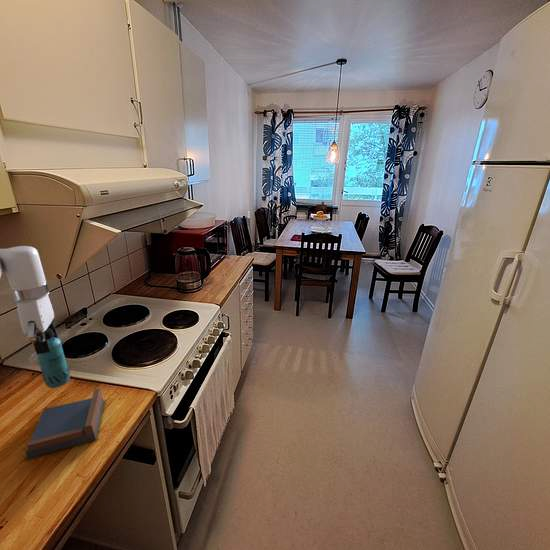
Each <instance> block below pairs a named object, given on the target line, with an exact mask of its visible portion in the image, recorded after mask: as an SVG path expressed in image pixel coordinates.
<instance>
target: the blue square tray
mask: <svg viewBox="0 0 550 550" xmlns="http://www.w3.org/2000/svg"><path fill="white" fill-rule="evenodd" d="M104 403H105V401H104V397H103V392H102V390H101V388H100V387H99V388H98V387H97V388H94V390H93V393H92V397H90V398H86V399H82V400H81V399H80V400H77V401H73V402H68V403H65V404H60V405H56V406H52V407H48V408H43V410H42V413H41V415H40V417H39V420H38V422H37V424H36V427H35V429H34V431H33V433H32V436H31V437H30V440H29V441H28V443H27V445H26V446H27V447H26V449H25V451H24V452H25V454H26V456H27V459H32V458H35V457H39V456H42V455H43V456H44V455H46V454H50V453H54V452H56V451H57V452H58V451H60V450H64V449H67V448H71V447H75V446H79V445H82V444H86V443H90V442H94V441H96V440H97V436H98V430H99V427H100V422H101V417H102V413H103V408H104Z"/></svg>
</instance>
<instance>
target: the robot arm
mask: <svg viewBox="0 0 550 550" xmlns="http://www.w3.org/2000/svg"><path fill="white" fill-rule="evenodd" d="M3 275H6V277H7V281H8V283H9V286H10V290H11V293H12V295H13V298H14V301H15V302H16V308H17V316H18V319H19V322H20V323H19V324H20V326H21V330H22V333H23V335H25V336H27V340H29V341H30V342H31V344H33V348H34V350H35V354H36V355H37V354H42V353H48V352H50V347H49V344H48V341H47V340H45V331H46V329H47V328H51V329H52V330H53V332H54V337H55V338H58V339H59V336H58V332H57V328H56V323H55V322H54V318H55V312H54V309H53V305H52V302H51V299H50V297H49V295H50V290H49V289H50V288H49V287H48V283H47V279H46V275H45V271H44V268H43V265H42V262H41V258H40V254H39V252H38V249H37V248H35V247H33V246H30V245H19V246H13V247H8V248H0V279H1V278H2V276H3ZM39 330H41V331H39ZM38 333H41V337H39V336H37V335H36V334H38Z"/></svg>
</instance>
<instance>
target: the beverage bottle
mask: <svg viewBox="0 0 550 550" xmlns="http://www.w3.org/2000/svg"><path fill="white" fill-rule="evenodd" d="M38 331H41V329H38ZM36 335H37V336H39V337H41V333H38V334H36ZM45 340H47V341H48V344H49V347H50V352H48V353H42V354H36V357H37V360H38V364H39V368H40V371H41V375H42V378H43V381H44V384H45V386H46V387H47V388H49V389H57V388H60V387H62V386H64V385H66V384H67V383H68V382H69V381H70V379H71V372H70V369H69V366H68V363H67V359H66V357H65V356H66V355H65V354H66V353H64V349H63V346H62V342H61V339H60V338H59V337H58V338H55V337H54V332H53V330H52V329H51V328H47V329H46V331H45Z"/></svg>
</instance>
